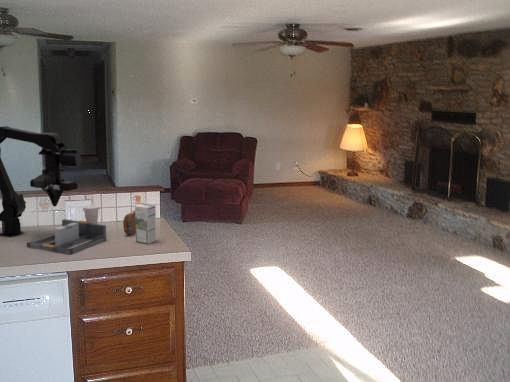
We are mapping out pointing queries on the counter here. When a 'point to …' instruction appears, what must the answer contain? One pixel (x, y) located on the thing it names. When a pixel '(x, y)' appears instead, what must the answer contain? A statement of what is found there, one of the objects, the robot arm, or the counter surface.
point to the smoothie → (91, 213)
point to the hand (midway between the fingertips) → (54, 206)
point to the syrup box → (145, 223)
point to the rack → (85, 234)
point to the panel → (66, 233)
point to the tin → (130, 223)
